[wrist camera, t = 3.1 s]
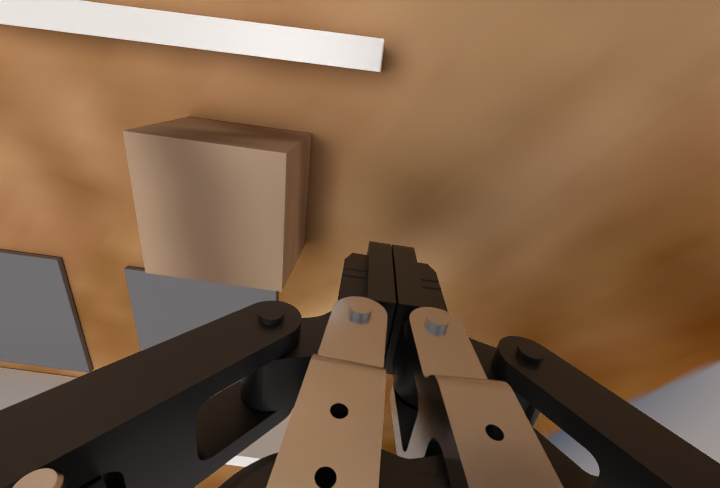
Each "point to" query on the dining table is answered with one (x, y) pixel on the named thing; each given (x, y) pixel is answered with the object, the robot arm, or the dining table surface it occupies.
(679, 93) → the dining table surface
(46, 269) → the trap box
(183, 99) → the dining table surface
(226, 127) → the walnut block
